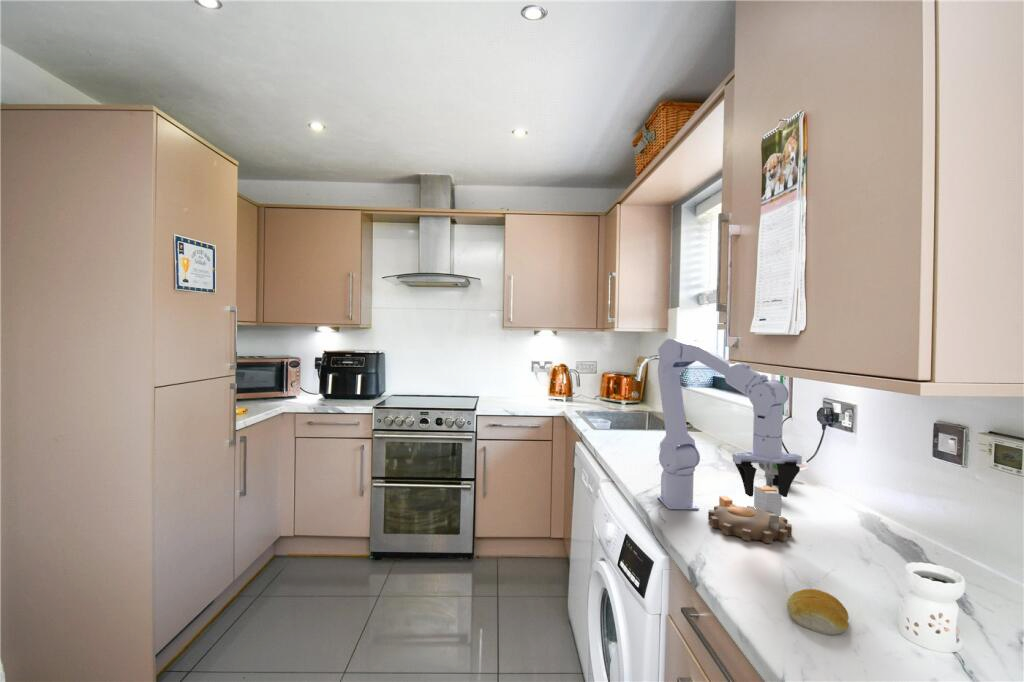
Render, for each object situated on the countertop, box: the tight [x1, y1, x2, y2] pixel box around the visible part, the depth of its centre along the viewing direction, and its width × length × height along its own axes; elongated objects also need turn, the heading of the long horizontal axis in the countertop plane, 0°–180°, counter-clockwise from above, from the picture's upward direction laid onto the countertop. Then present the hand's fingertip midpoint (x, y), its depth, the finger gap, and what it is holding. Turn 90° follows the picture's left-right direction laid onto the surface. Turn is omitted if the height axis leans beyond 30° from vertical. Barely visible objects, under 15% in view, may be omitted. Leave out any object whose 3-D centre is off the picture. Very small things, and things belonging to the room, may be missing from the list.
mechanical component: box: [758, 463, 778, 487], centre depth 136 cm, size 3×10×10 cm, turn 174°
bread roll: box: [786, 588, 850, 636], centre depth 76 cm, size 8×9×4 cm
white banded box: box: [753, 485, 782, 517], centre depth 121 cm, size 6×4×6 cm, turn 1°
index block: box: [718, 495, 733, 507], centre depth 123 cm, size 3×2×3 cm, turn 1°
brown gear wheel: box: [707, 504, 793, 544], centre depth 111 cm, size 17×17×5 cm
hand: (765, 495), depth 106 cm, fingers open, 7 cm apart
